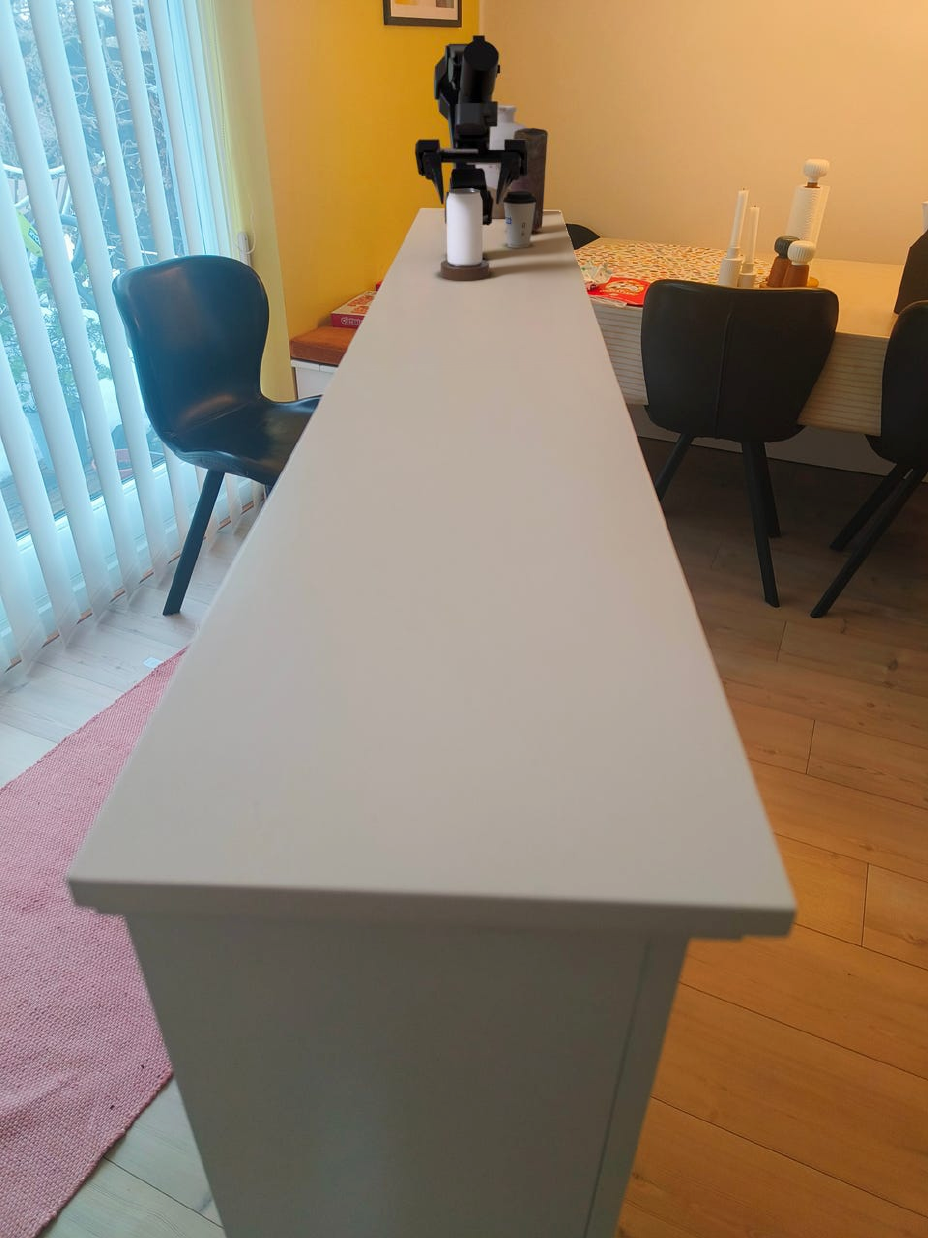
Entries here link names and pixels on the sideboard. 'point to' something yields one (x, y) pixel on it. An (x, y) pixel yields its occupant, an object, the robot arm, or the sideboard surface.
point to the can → (464, 227)
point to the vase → (497, 138)
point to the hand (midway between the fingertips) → (469, 202)
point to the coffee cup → (519, 217)
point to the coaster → (464, 271)
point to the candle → (534, 170)
